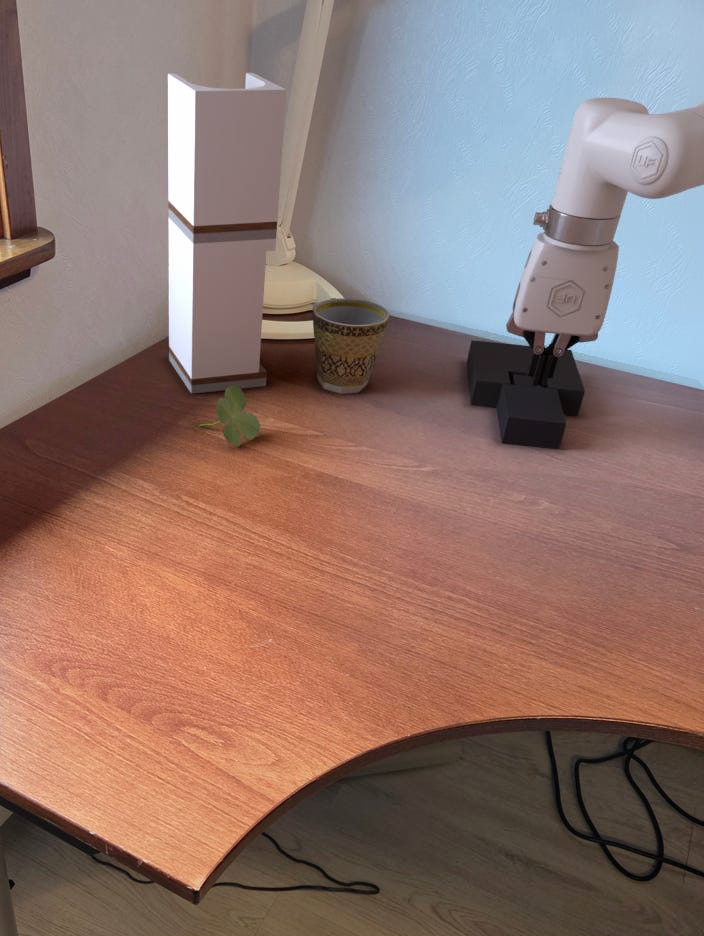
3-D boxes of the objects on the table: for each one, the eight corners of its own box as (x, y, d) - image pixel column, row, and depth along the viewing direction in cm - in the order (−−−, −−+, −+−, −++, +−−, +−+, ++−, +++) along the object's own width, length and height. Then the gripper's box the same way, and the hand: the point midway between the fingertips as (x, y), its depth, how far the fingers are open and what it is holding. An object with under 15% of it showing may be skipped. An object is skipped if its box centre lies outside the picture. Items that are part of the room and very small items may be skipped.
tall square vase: (265, 385, 123) (286, 89, 100) (191, 393, 120) (195, 91, 97) (239, 353, 131) (252, 72, 108) (169, 359, 128) (167, 73, 106)
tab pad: (547, 402, 122) (554, 378, 119) (558, 449, 112) (566, 423, 109) (494, 397, 122) (500, 372, 120) (501, 442, 112) (508, 417, 110)
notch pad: (564, 373, 129) (571, 349, 127) (577, 416, 119) (585, 391, 117) (466, 363, 131) (471, 340, 129) (470, 405, 120) (476, 380, 118)
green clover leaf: (220, 466, 115) (258, 455, 111) (175, 442, 110) (214, 430, 105) (225, 415, 117) (263, 402, 112) (182, 389, 111) (220, 374, 107)
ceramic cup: (389, 396, 121) (400, 323, 115) (318, 401, 119) (326, 327, 113) (356, 358, 131) (365, 288, 125) (291, 362, 129) (297, 292, 123)
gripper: (515, 231, 98) (478, 388, 110) (656, 243, 97) (603, 401, 109) (510, 212, 104) (475, 363, 116) (643, 223, 103) (594, 376, 114)
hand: (537, 381), depth 112 cm, fingers closed
